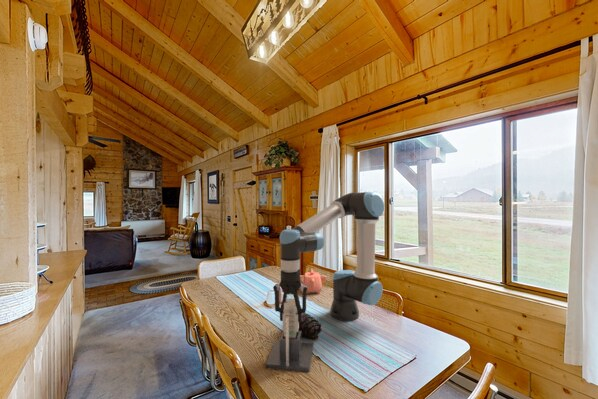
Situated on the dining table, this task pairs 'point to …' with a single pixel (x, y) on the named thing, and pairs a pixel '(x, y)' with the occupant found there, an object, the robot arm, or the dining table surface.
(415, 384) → the dining table surface
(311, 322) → the pine cone
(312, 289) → the teapot
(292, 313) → the column
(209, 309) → the dining table surface
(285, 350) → the stand base
